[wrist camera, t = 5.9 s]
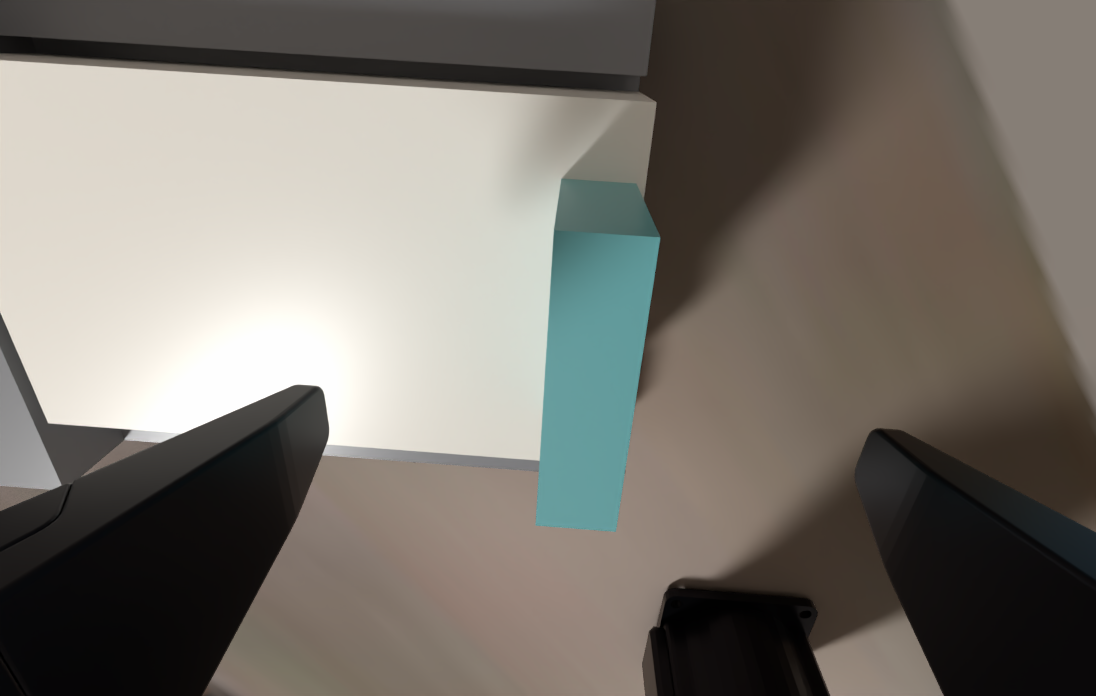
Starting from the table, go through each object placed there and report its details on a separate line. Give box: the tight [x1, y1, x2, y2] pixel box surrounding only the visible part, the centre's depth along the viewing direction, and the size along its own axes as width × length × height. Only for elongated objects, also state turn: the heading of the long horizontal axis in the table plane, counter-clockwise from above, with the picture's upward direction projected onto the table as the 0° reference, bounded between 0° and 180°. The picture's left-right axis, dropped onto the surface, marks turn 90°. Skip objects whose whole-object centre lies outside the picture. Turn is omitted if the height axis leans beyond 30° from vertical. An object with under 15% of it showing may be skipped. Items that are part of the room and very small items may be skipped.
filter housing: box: [0, 0, 656, 490], centre depth 16 cm, size 21×14×5 cm, turn 87°
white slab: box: [0, 53, 660, 532], centre depth 13 cm, size 16×9×8 cm, turn 87°
